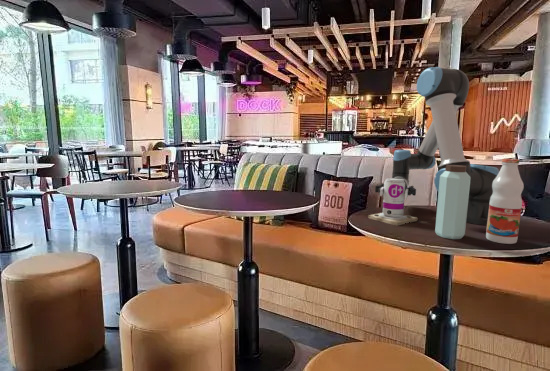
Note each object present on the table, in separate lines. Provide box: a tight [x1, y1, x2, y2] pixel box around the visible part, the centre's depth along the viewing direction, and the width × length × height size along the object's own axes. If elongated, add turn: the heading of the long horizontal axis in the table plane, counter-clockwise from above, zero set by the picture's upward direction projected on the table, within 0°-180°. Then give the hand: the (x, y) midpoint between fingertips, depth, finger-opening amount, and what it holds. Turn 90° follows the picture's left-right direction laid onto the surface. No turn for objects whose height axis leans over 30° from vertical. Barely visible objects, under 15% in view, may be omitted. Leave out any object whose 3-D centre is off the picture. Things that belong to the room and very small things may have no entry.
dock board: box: [367, 212, 418, 226], centre depth 157 cm, size 14×14×2 cm
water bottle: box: [434, 165, 471, 240], centre depth 133 cm, size 10×10×25 cm
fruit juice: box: [485, 158, 525, 245], centre depth 129 cm, size 9×9×28 cm
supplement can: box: [382, 177, 405, 217], centre depth 156 cm, size 8×8×15 cm
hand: (393, 193), depth 151 cm, fingers open, 9 cm apart
